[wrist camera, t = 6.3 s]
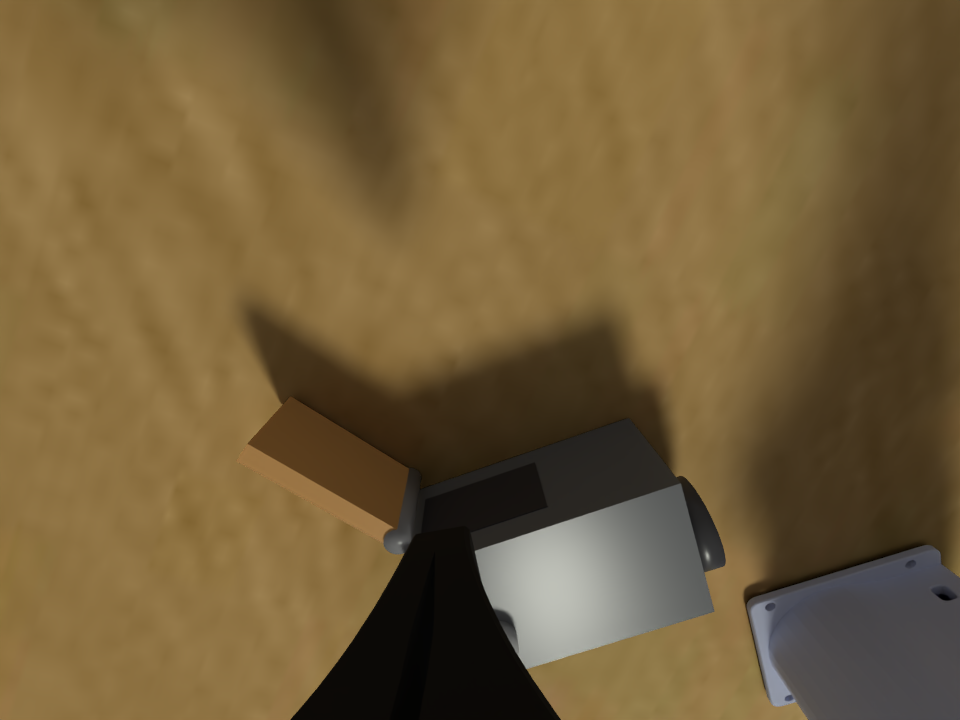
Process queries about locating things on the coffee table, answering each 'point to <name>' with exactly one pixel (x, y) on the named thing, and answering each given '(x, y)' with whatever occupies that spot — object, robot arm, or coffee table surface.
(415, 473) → the side door
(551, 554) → the camera body
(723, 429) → the coffee table surface
